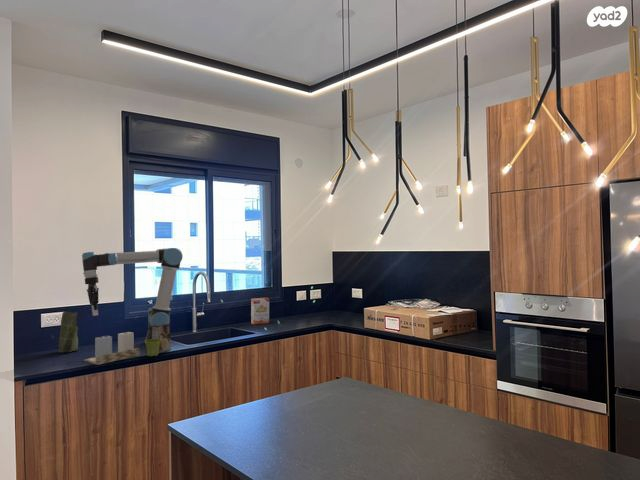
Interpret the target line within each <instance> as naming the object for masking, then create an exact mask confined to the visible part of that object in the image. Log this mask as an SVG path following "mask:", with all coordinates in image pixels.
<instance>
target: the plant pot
mask: <svg viewBox="0 0 640 480" xmlns="http://www.w3.org/2000/svg"><path fill="white" fill-rule="evenodd" d="M160 341H161V339H150V340H146V339H145V340H144V344H145V347H146V348H145V349H146V355H147V356H148V357H153V356H155V357H156V356H158V355H159V354H160V353H159V346H160Z"/></svg>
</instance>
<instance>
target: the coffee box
mask: <svg viewBox="0 0 640 480" xmlns="http://www.w3.org/2000/svg"><path fill="white" fill-rule="evenodd" d="M152 339H161V341H160V346H159V354H160V353H163V352H167V351H171V350H172V349H171V348H172V347H171V345H172V344H171V323H169V324H159V325H154V326H152Z"/></svg>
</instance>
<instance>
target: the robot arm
mask: <svg viewBox="0 0 640 480" xmlns="http://www.w3.org/2000/svg"><path fill="white" fill-rule="evenodd" d="M81 258H82V269H83V272H82V273H83V276H84V284H85V285H88V286H87V289H86V292H87V296H88V301H89V304H90V305H91V312H92V316H93V317H94V316H99V309H98V308H99V307H98V304H99V287H98V286H97V284H98V283H99V277H98V276H99V272H98V267H106V266H107V267H108V266H115V265H124V264H125V265H126V264H127V265H128V264H129V265H130V264H143V263H145V264H146V263H157V264H161V265H160V266H161V268H162V271H161V277H160V281H159V287H158V291H157V296H156V301H155V305H153V306H152V307H149V308H148V311H147V319H148V320H147V323H148V325H147V326H148V328H147V333H146V337H145V340H150V339H152V326H154V325H159V324H170V322H171V319H170V316H171V310H172V309H171V308H170V304H171V303H170V302H171V299H172V294H173V289H174V285H175V284H174V283H175V281H176V280H175V279H176V273H177V271H178V270H179V269H180V266H181V263H182V261H183V258H184V257H183V253H182V251H181V249H180V248H178V247H176V246H169V247H165V248H158V249H156V250H146V251H145V250H143V251H127V252H126V251H125V252H111V253H110V252H106V253H105V252H104V253H102V254H97V253H96V252H95V251H87V252H83V253H82V255H81Z"/></svg>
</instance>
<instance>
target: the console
mask: <svg viewBox="0 0 640 480" xmlns="http://www.w3.org/2000/svg"><path fill="white" fill-rule="evenodd" d="M140 353H141V351H140V348H139V347H136V348H134V349H131V350H127V351H122V352H118V351H117V352H112V354H109V355H104V356H99V357H97V360H95V356H94V357H90V358H86V359H83V362H84V363H89V364H93V365H98V366H99V365H102V364H108V363H113V362H115V361H120V360H125V359H129V358H134V357H137V356H141V355H140Z"/></svg>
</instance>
